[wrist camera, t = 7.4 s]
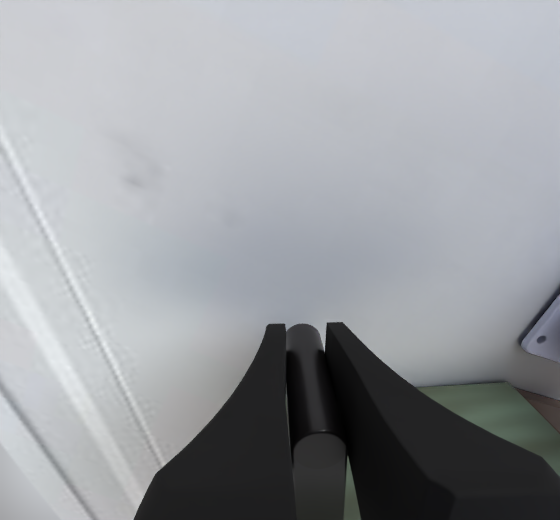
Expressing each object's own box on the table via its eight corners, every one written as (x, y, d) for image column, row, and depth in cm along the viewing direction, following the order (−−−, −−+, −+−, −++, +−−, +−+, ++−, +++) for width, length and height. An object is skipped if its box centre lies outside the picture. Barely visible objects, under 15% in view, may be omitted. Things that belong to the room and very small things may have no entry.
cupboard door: (256, 294, 15) (232, 574, 5) (541, 279, 15) (1021, 522, 5) (266, 405, 18) (261, 717, 8) (505, 391, 18) (777, 680, 8)
